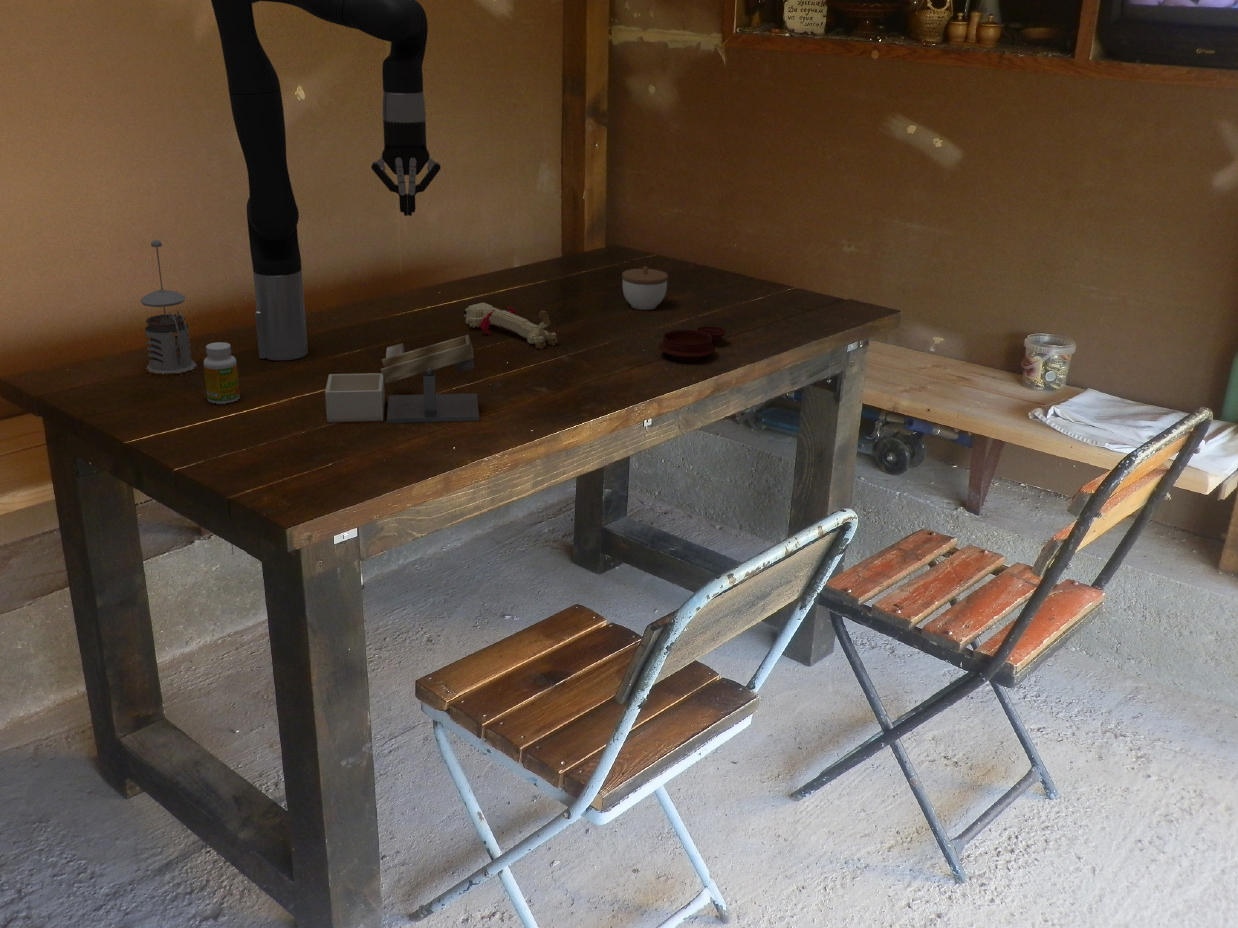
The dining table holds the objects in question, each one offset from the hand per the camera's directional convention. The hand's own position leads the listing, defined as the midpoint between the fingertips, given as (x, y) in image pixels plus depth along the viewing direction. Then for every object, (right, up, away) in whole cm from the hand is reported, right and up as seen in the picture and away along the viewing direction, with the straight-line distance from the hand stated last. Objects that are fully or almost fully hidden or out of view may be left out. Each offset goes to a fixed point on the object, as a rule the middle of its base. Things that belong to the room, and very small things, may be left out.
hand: (408, 214), depth 222 cm
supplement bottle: (-33, -34, -4) cm, 48 cm away
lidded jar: (+45, -9, +62) cm, 77 cm away
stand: (+5, -36, -5) cm, 37 cm away
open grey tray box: (-8, -37, -7) cm, 38 cm away
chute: (+5, -29, -5) cm, 30 cm away
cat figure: (+15, -18, +38) cm, 45 cm away
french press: (-47, -28, +11) cm, 56 cm away
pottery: (+55, -23, +31) cm, 67 cm away
